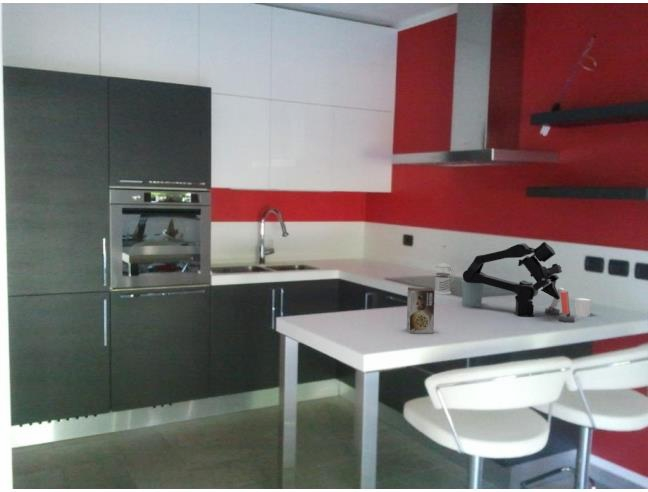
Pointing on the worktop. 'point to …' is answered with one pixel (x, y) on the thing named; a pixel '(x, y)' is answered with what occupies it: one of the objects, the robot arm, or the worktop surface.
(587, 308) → the shot glass
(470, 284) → the grey green cup
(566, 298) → the block
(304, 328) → the worktop surface
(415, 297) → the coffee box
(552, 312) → the grey switch base
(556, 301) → the block
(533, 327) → the worktop surface
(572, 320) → the dark rounded piece
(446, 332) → the worktop surface
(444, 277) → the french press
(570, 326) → the worktop surface
